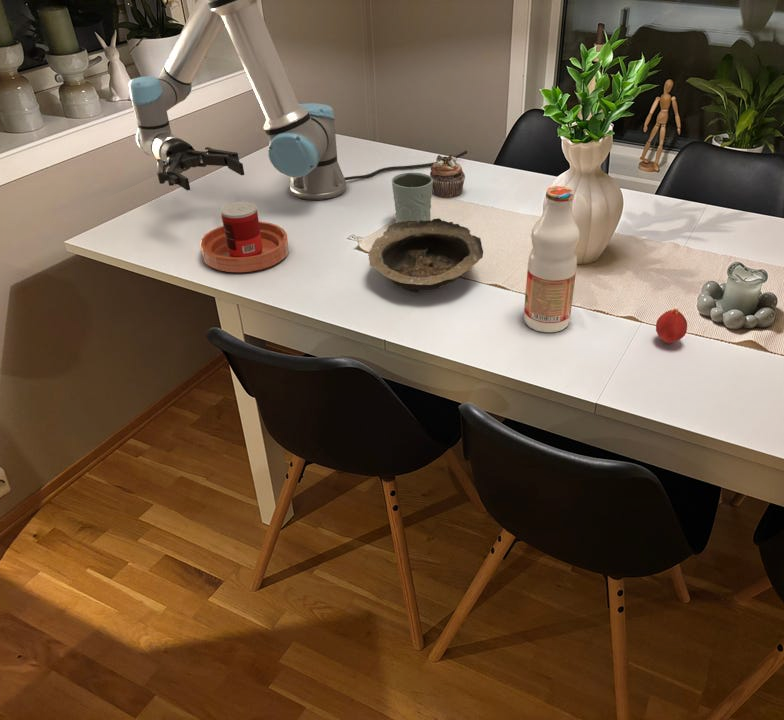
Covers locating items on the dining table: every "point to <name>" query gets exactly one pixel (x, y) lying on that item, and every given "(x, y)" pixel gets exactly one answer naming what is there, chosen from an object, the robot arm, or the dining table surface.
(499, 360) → the dining table surface
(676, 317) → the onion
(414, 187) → the green embossed cup
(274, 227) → the bowl
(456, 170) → the cupcake
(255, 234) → the canned food
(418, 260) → the stone bowl
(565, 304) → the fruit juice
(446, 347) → the dining table surface
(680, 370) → the dining table surface
